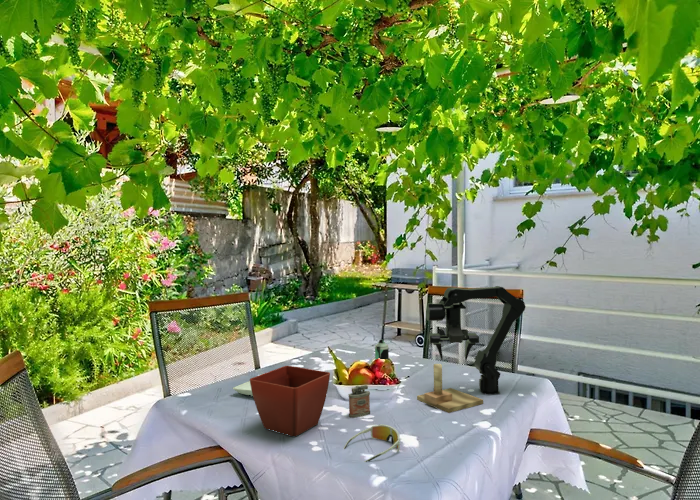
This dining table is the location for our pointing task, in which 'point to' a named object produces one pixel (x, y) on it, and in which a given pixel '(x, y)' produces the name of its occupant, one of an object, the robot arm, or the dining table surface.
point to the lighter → (359, 402)
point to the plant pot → (290, 398)
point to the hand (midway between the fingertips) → (453, 360)
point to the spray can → (381, 350)
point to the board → (455, 401)
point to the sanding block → (438, 389)
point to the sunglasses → (381, 437)
